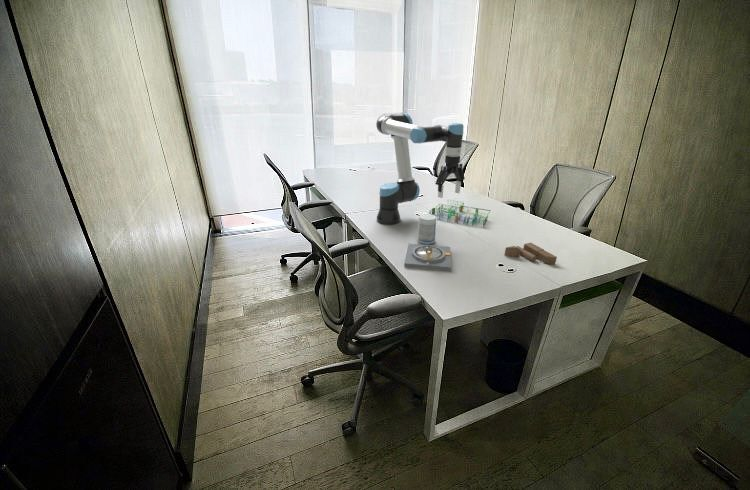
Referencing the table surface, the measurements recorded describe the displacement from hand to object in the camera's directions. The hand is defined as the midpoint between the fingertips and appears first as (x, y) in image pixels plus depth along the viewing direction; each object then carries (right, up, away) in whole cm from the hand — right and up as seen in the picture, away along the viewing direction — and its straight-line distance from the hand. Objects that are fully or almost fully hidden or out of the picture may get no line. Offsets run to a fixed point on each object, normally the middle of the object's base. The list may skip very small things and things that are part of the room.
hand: (448, 195), depth 179 cm
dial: (-14, -32, -15) cm, 38 cm away
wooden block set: (+38, -35, -12) cm, 53 cm away
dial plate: (-13, -34, -12) cm, 38 cm away
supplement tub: (-12, -25, +6) cm, 28 cm away
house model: (+18, -8, +43) cm, 47 cm away
